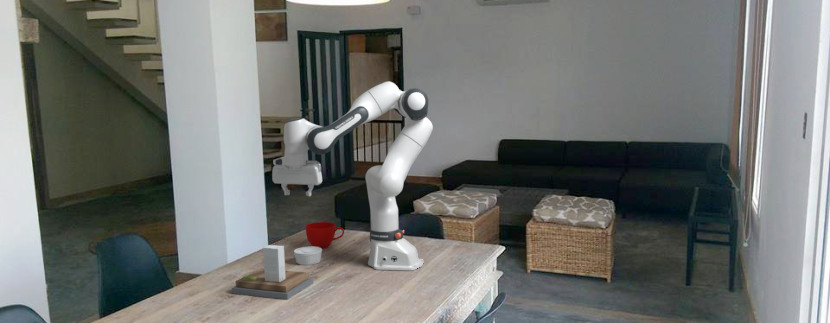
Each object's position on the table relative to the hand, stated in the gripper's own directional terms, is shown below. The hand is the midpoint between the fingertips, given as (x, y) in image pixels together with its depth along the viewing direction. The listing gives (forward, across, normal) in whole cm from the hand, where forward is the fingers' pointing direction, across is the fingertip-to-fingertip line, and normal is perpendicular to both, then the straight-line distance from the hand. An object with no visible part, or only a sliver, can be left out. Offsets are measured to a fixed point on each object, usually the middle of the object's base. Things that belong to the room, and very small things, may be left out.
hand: (297, 195), depth 244 cm
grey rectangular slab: (+29, -3, +25) cm, 38 cm away
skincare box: (+25, -6, +28) cm, 38 cm away
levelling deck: (+27, -3, +25) cm, 37 cm away
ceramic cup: (+29, +5, -31) cm, 43 cm away
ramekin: (+29, +1, -8) cm, 31 cm away
